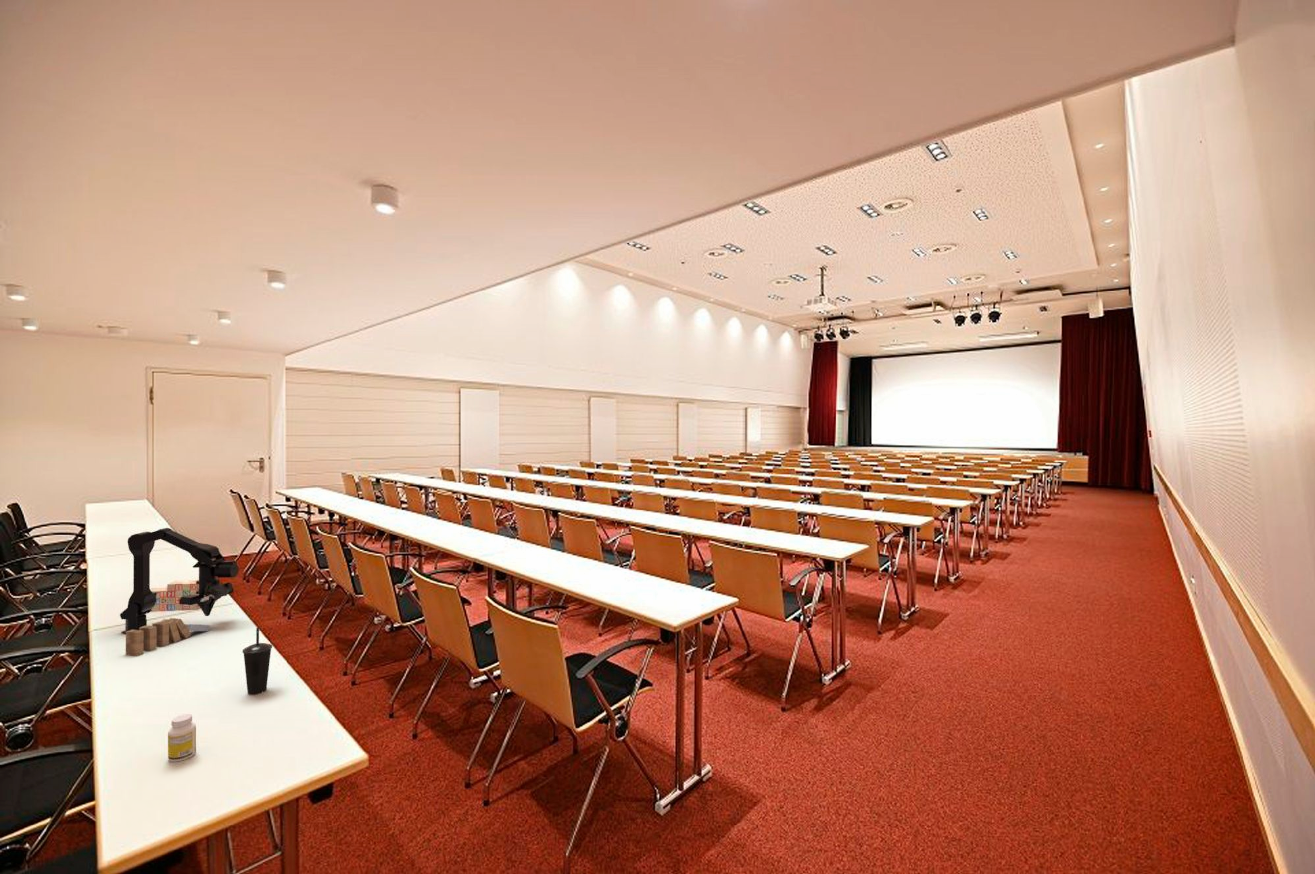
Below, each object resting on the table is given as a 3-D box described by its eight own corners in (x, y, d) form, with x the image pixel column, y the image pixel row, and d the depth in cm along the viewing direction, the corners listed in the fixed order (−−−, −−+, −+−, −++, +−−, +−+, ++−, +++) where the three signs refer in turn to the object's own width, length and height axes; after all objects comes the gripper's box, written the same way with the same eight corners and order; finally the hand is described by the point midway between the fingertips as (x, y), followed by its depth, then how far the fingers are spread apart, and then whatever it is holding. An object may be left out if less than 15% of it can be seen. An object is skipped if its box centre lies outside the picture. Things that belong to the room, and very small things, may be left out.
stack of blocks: (143, 612, 254) (143, 584, 254) (152, 608, 260) (153, 581, 260) (197, 610, 258) (197, 583, 258) (205, 606, 264) (206, 579, 264)
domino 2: (139, 650, 210) (139, 627, 210) (145, 648, 213) (145, 625, 212) (150, 651, 209) (150, 628, 209) (156, 649, 212) (156, 626, 212)
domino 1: (125, 655, 206) (125, 631, 206) (132, 652, 208) (132, 629, 208) (136, 656, 205) (136, 632, 205) (143, 654, 207) (143, 630, 207)
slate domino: (198, 630, 232) (178, 630, 224) (200, 624, 233) (180, 624, 225) (208, 631, 231) (189, 631, 224) (210, 625, 232) (191, 625, 224)
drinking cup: (277, 688, 181) (278, 625, 181) (253, 698, 174) (254, 633, 174) (260, 684, 184) (260, 622, 184) (236, 694, 177) (236, 630, 176)
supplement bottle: (178, 750, 146) (178, 712, 145) (201, 750, 146) (201, 712, 146) (162, 763, 140) (162, 723, 140) (185, 762, 141) (185, 722, 141)
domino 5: (175, 637, 223) (165, 622, 219) (180, 633, 225) (170, 618, 221) (186, 638, 223) (175, 623, 218) (191, 634, 224) (180, 619, 220)
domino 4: (164, 641, 219) (158, 622, 217) (170, 638, 221) (164, 619, 219) (175, 642, 218) (169, 623, 216) (180, 639, 220) (174, 620, 218)
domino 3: (152, 646, 215) (152, 623, 215) (158, 643, 217) (158, 621, 217) (162, 647, 214) (163, 624, 214) (168, 645, 216) (169, 622, 216)
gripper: (201, 584, 223) (201, 624, 223) (244, 573, 241) (244, 610, 241) (178, 583, 225) (178, 622, 225) (222, 571, 243) (222, 608, 243)
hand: (207, 615), depth 233 cm, fingers closed
